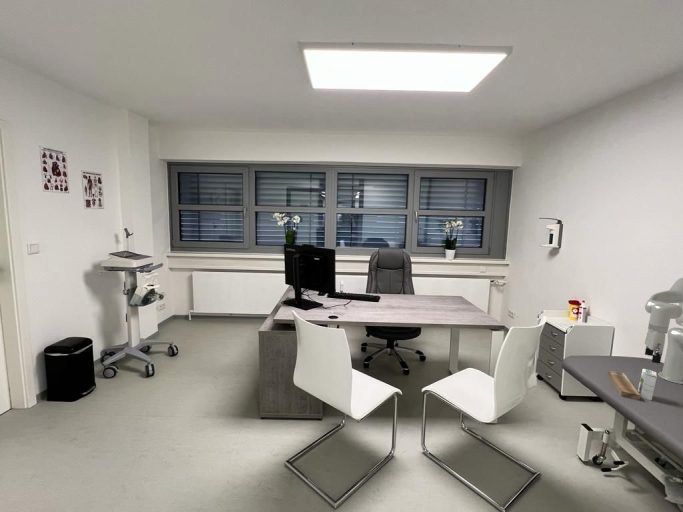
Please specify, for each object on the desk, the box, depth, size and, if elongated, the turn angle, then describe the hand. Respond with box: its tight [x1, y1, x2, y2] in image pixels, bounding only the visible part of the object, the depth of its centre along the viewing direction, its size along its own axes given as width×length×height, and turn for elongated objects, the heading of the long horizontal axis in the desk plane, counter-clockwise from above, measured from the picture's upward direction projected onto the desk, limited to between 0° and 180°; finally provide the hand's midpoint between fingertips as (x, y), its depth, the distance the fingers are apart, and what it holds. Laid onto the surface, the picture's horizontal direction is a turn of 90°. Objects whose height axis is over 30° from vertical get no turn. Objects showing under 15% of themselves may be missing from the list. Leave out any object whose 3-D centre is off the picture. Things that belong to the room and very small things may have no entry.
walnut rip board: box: [607, 370, 642, 402], centre depth 190 cm, size 8×26×3 cm, turn 154°
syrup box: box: [637, 368, 658, 401], centre depth 180 cm, size 6×6×14 cm
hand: (652, 358), depth 177 cm, fingers open, 9 cm apart
